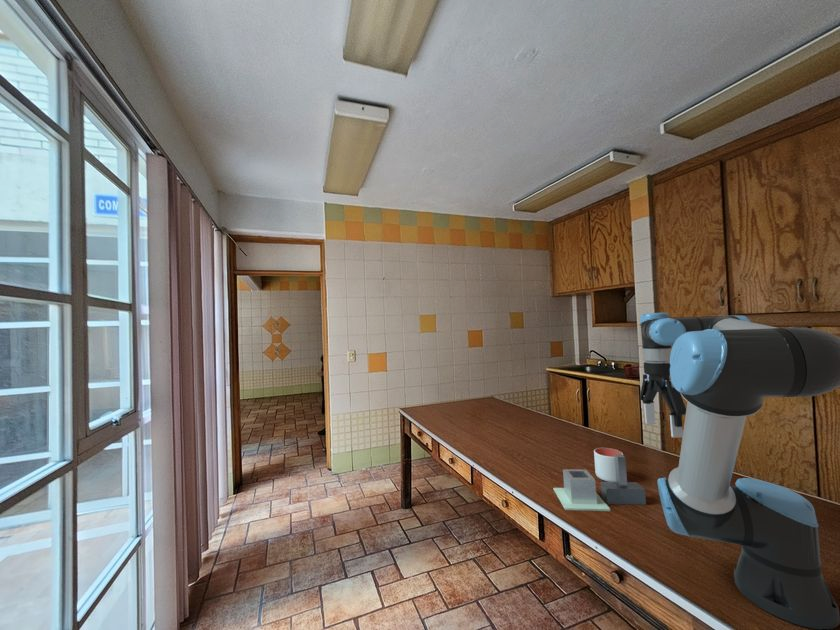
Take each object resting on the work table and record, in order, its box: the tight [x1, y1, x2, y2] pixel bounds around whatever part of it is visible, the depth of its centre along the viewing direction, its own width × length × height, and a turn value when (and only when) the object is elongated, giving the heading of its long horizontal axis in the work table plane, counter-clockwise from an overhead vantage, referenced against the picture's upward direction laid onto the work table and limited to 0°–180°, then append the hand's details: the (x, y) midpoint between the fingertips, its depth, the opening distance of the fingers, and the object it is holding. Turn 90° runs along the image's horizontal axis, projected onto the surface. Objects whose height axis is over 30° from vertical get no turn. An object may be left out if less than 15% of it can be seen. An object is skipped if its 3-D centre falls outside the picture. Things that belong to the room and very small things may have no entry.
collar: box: [562, 468, 597, 504], centre depth 114 cm, size 8×8×8 cm
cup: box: [593, 447, 624, 482], centre depth 129 cm, size 10×10×10 cm
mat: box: [553, 487, 611, 512], centre depth 114 cm, size 14×14×1 cm
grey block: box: [599, 454, 647, 506], centre depth 112 cm, size 5×12×15 cm, turn 83°
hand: (663, 430), depth 102 cm, fingers open, 13 cm apart
